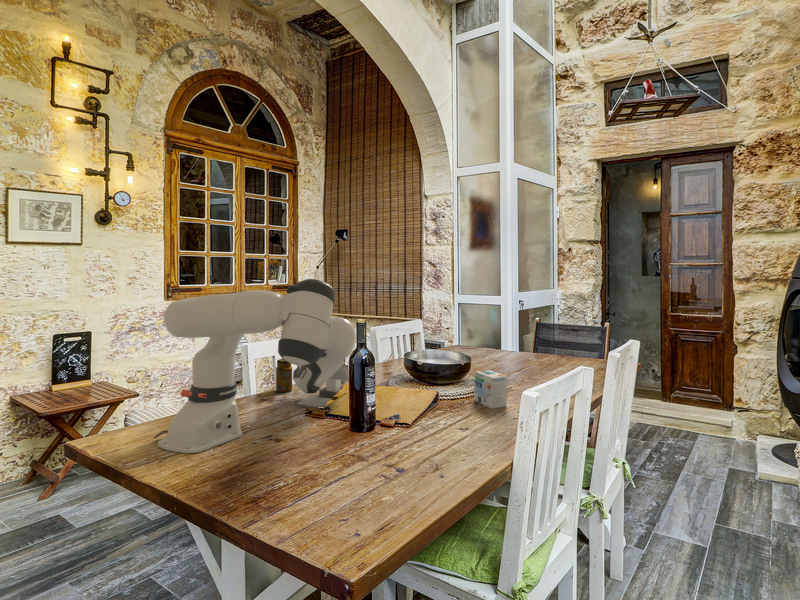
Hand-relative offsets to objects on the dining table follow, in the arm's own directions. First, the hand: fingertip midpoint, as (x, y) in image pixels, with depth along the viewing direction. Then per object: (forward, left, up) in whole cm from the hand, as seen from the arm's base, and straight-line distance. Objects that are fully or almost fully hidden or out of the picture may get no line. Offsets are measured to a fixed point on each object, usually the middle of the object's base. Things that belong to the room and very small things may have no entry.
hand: (334, 381), depth 177 cm
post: (-1, 0, -5) cm, 5 cm away
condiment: (-5, +19, -5) cm, 20 cm away
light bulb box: (+11, -56, -5) cm, 57 cm away
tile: (-13, 0, -5) cm, 13 cm away
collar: (-1, 0, -5) cm, 5 cm away
